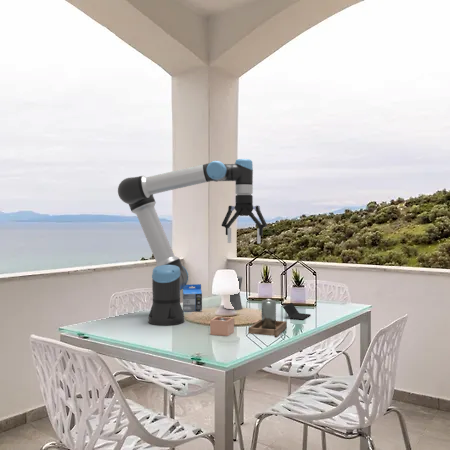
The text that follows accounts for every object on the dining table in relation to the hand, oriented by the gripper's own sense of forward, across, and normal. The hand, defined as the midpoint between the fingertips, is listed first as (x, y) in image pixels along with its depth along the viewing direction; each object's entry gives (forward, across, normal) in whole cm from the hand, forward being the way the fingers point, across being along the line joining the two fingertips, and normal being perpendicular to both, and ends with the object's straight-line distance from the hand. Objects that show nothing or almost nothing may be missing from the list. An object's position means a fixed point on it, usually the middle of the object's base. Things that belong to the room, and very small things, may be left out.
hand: (244, 243), depth 227 cm
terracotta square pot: (+33, -2, +33) cm, 47 cm away
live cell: (+32, -17, +21) cm, 42 cm away
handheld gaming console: (+33, -22, -8) cm, 41 cm away
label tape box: (+33, +27, -5) cm, 43 cm away
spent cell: (+32, -2, +33) cm, 46 cm away
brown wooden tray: (+33, -17, +22) cm, 43 cm away
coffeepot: (+33, +12, -18) cm, 39 cm away
